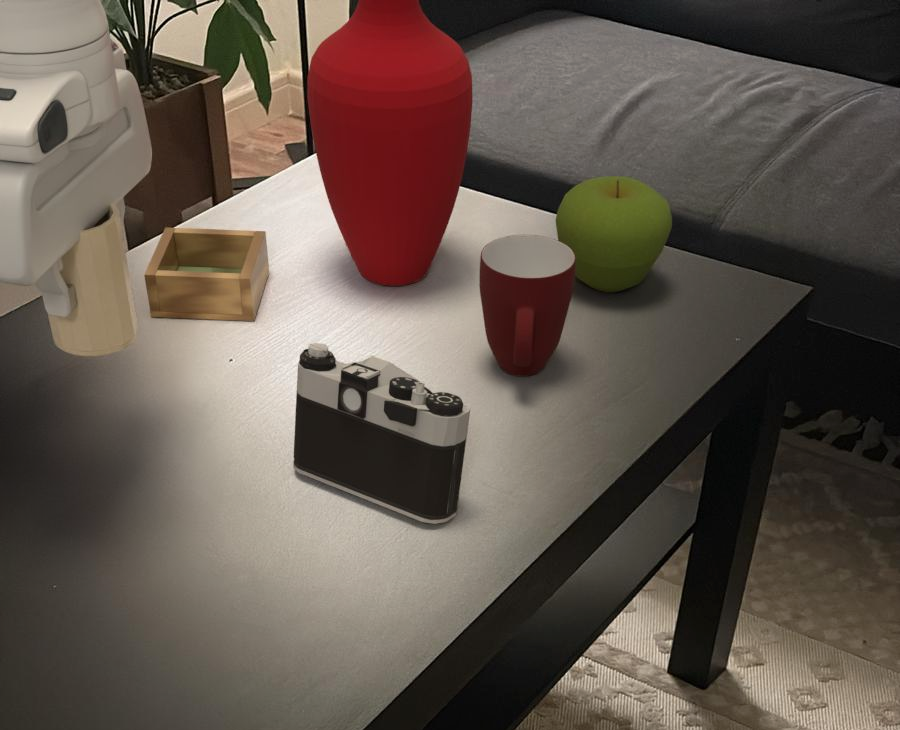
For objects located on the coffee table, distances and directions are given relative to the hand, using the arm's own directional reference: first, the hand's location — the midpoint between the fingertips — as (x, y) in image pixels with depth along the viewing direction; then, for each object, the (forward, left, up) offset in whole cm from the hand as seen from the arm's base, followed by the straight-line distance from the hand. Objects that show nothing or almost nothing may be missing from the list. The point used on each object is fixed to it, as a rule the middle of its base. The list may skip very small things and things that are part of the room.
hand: (86, 287), depth 93 cm
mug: (+32, +17, -15) cm, 39 cm away
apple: (+40, +34, -15) cm, 55 cm away
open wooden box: (+2, +29, -15) cm, 32 cm away
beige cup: (0, 0, -4) cm, 4 cm away
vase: (+19, +35, -15) cm, 42 cm away
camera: (+22, +1, -15) cm, 27 cm away
